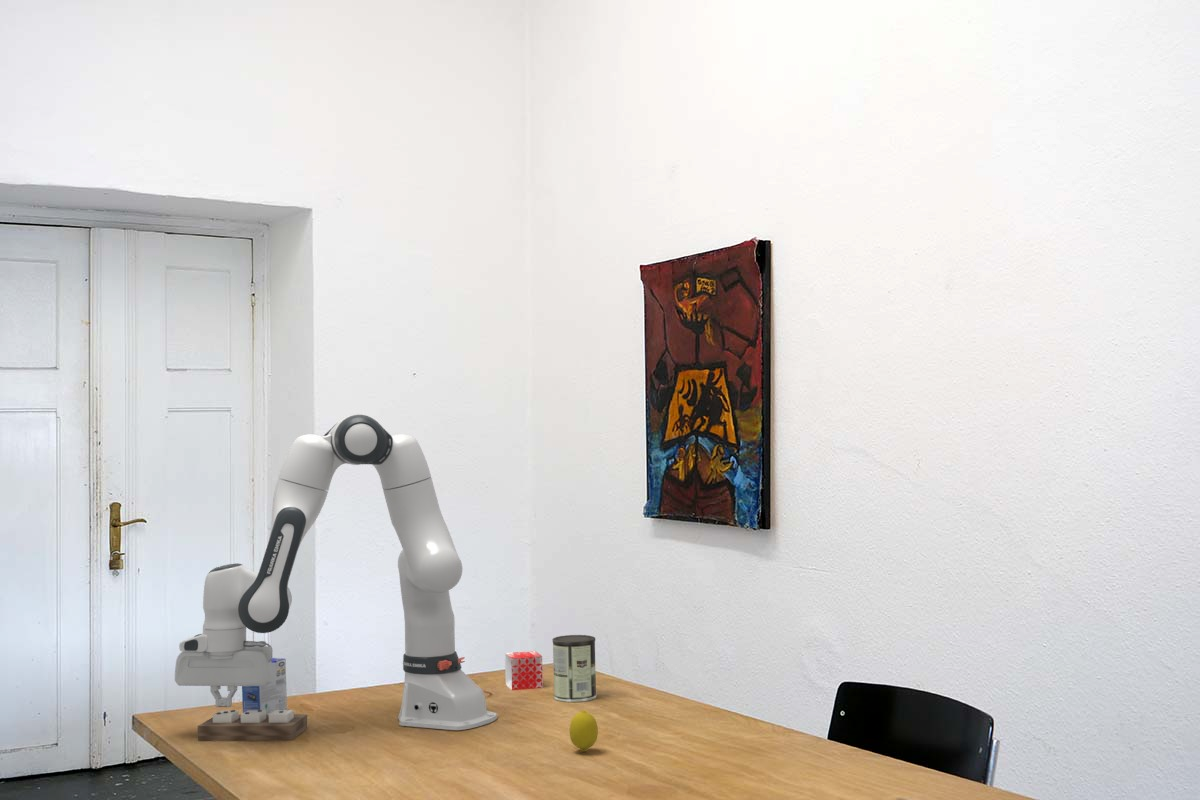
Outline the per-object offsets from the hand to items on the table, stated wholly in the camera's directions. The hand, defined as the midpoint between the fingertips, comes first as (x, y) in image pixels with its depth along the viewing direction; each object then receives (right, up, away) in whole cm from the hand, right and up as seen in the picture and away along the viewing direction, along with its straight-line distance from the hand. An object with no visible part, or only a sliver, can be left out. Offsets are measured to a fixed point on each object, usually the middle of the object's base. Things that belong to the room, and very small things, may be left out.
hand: (223, 706), depth 237 cm
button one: (+12, -3, -1) cm, 13 cm away
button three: (0, -4, 0) cm, 4 cm away
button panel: (+6, -6, 0) cm, 9 cm away
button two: (+6, -4, 0) cm, 7 cm away
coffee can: (+74, -6, +30) cm, 80 cm away
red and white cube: (+61, -7, +44) cm, 75 cm away
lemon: (+77, -4, -19) cm, 79 cm away
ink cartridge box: (+4, -7, +17) cm, 19 cm away
